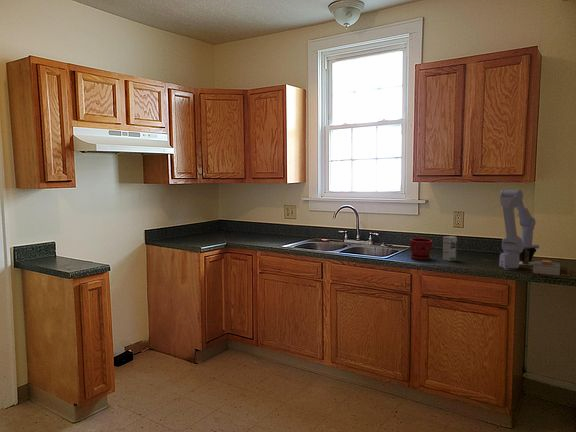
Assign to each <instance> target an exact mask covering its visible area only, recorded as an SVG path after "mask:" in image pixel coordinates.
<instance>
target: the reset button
mask: <svg viewBox="0 0 576 432" xmlns="http://www.w3.org/2000/svg"><path fill="white" fill-rule="evenodd" d="M541 261H542V264H545V265H552V262H553V261H552V260H549V259H548V260H547V259H542V260H541Z"/></svg>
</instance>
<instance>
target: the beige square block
mask: <svg viewBox="0 0 576 432" xmlns="http://www.w3.org/2000/svg"><path fill="white" fill-rule="evenodd" d="M522 263H523V261H520V260H519V265H523V266H533V265H534V262H532V261H529V264H522Z"/></svg>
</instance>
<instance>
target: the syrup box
mask: <svg viewBox="0 0 576 432" xmlns="http://www.w3.org/2000/svg"><path fill="white" fill-rule="evenodd" d="M457 246H458V237H457V236H453V235H449V236H448V235H447V236H443V237H442V260H444V261H448V262H452V261H457V254H458V253H457V250H458V249H457V248H458V247H457Z"/></svg>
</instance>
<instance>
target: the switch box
mask: <svg viewBox="0 0 576 432" xmlns="http://www.w3.org/2000/svg"><path fill="white" fill-rule="evenodd" d="M533 263H534V265H533V267H532V268H533V269H532V273H533V274H538V273H539V274H540V275H548V276H549V275H550V276H551V275H552V276H560V274H561V264H560V262H554V261H552V265H545V264H542V260H534V261H533Z"/></svg>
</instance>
